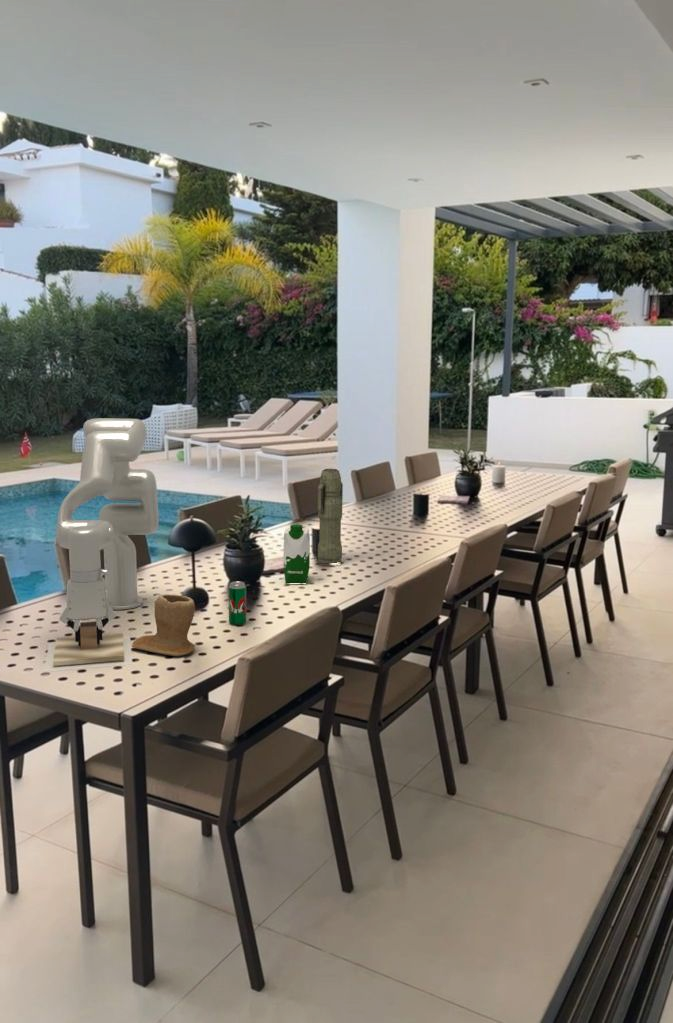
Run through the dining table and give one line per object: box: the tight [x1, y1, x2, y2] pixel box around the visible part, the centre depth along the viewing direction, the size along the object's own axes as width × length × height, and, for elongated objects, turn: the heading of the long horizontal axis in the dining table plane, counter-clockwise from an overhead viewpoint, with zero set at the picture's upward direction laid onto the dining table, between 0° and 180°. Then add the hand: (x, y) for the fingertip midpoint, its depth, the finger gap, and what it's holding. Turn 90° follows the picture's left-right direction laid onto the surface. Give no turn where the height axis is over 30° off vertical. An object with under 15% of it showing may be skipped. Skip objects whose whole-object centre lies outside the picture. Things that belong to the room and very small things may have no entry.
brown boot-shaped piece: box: [131, 593, 196, 657], centre depth 224 cm, size 15×12×15 cm
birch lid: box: [53, 620, 124, 666], centre depth 221 cm, size 17×17×7 cm
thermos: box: [317, 468, 344, 563], centre depth 312 cm, size 9×12×35 cm
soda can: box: [227, 580, 247, 626], centre depth 247 cm, size 5×5×12 cm
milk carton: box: [283, 523, 311, 584], centre depth 290 cm, size 9×9×20 cm
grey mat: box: [43, 636, 133, 673], centre depth 221 cm, size 21×21×1 cm
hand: (89, 642), depth 221 cm, fingers closed on birch lid, 4 cm apart
